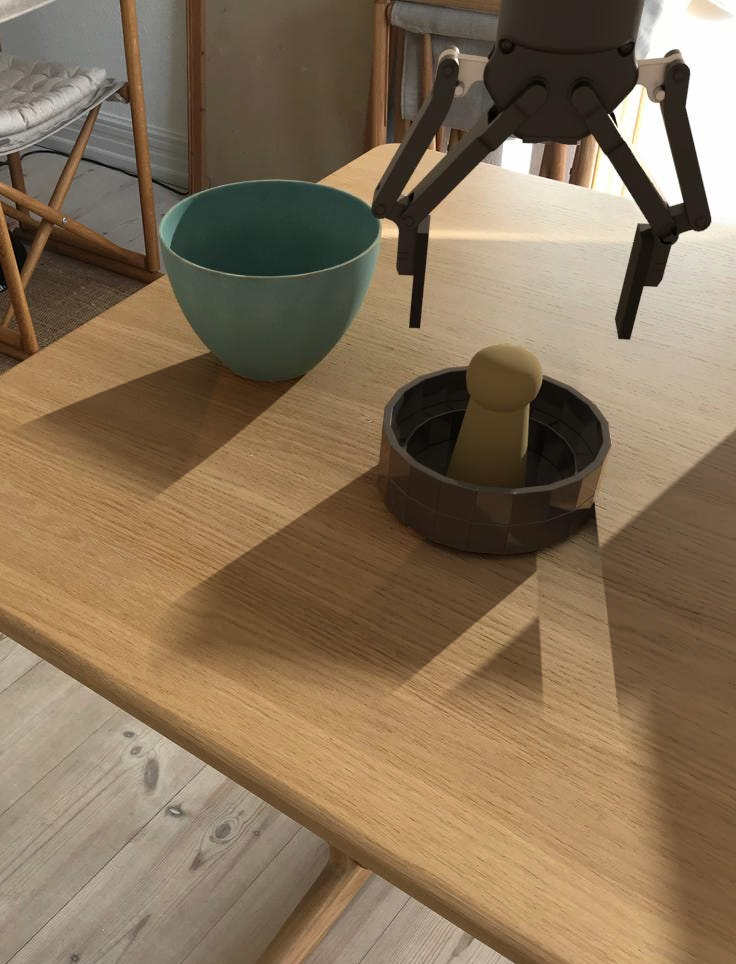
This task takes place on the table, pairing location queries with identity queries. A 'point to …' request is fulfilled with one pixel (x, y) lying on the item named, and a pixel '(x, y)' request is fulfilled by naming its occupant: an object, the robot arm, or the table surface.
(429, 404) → the bowl
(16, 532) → the table surface
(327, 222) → the teal green deep bowl
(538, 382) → the yellow pawn
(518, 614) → the table surface
